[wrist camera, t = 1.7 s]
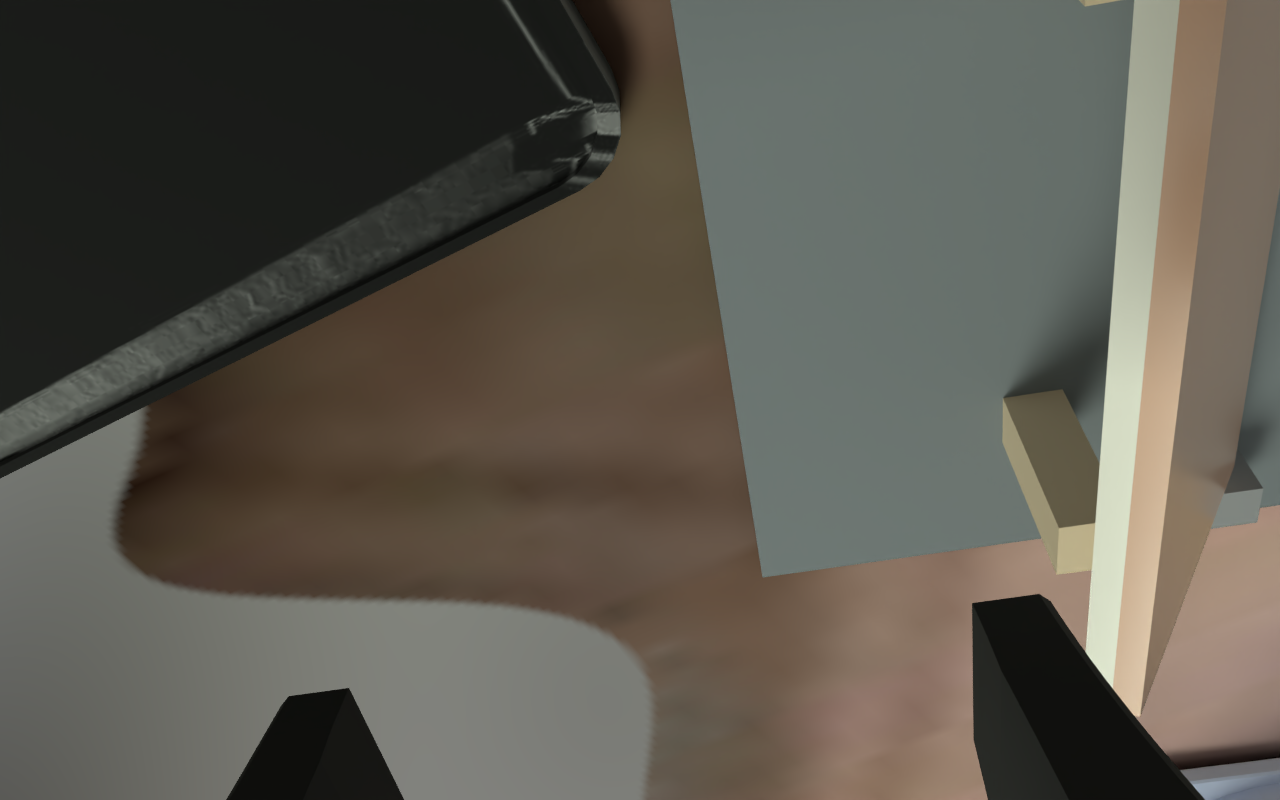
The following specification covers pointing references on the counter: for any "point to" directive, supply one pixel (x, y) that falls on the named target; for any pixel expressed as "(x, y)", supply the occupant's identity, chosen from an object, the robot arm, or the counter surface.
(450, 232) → the phone
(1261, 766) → the robot arm
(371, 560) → the counter surface
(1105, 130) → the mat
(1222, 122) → the tile
